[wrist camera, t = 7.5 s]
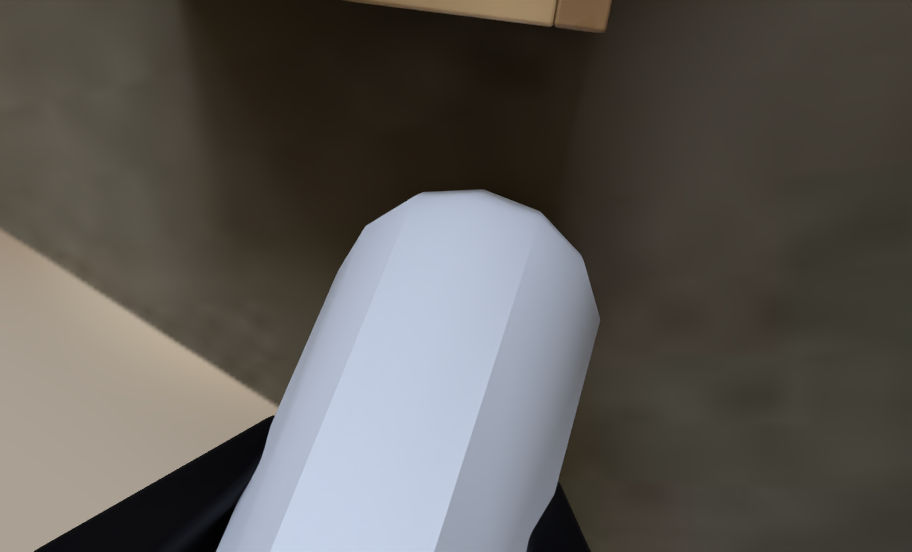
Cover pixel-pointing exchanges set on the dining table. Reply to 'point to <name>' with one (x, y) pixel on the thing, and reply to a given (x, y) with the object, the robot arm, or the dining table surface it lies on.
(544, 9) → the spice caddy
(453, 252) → the salt shaker
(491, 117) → the dining table surface
